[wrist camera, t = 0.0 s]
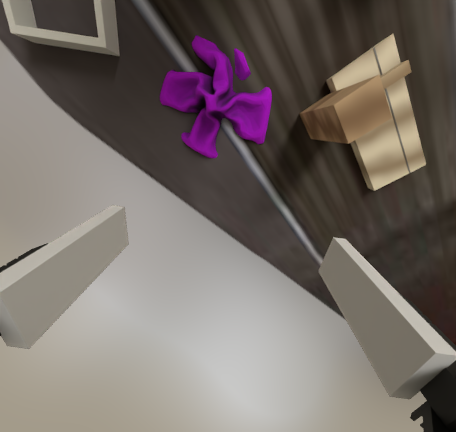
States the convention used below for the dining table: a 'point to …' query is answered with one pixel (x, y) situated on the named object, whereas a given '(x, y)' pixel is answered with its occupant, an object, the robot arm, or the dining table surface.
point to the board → (390, 130)
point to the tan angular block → (352, 108)
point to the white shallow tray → (26, 28)
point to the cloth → (216, 99)
